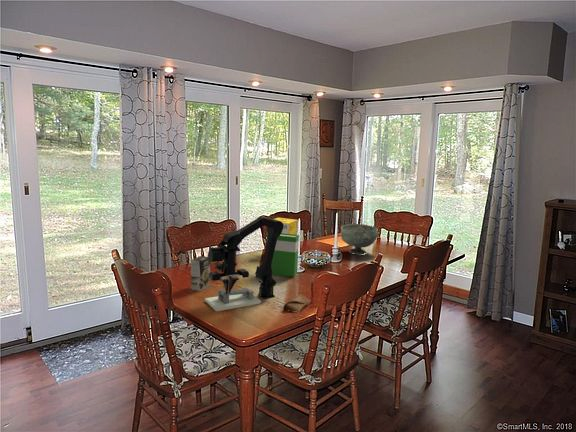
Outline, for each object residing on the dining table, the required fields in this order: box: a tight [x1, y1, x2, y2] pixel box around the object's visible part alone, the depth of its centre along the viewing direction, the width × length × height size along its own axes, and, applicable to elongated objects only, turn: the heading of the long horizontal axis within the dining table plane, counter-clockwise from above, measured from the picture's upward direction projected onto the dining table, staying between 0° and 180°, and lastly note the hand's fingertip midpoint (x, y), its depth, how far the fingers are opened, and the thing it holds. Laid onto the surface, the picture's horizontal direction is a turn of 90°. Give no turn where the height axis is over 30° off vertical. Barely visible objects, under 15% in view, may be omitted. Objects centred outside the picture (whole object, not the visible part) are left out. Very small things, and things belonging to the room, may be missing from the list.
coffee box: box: [190, 255, 211, 292], centre depth 223 cm, size 9×6×16 cm
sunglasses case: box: [283, 293, 312, 312], centre depth 205 cm, size 18×7×7 cm, turn 156°
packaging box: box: [274, 217, 299, 235], centre depth 292 cm, size 16×16×25 cm
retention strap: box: [220, 287, 252, 295], centre depth 206 cm, size 15×5×1 cm, turn 122°
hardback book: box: [266, 233, 300, 278], centre depth 252 cm, size 18×7×24 cm, turn 75°
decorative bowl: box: [340, 223, 379, 254], centre depth 308 cm, size 26×26×20 cm
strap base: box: [204, 287, 262, 312], centre depth 205 cm, size 23×14×6 cm, turn 122°
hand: (228, 291), depth 203 cm, fingers closed, pressing on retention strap
